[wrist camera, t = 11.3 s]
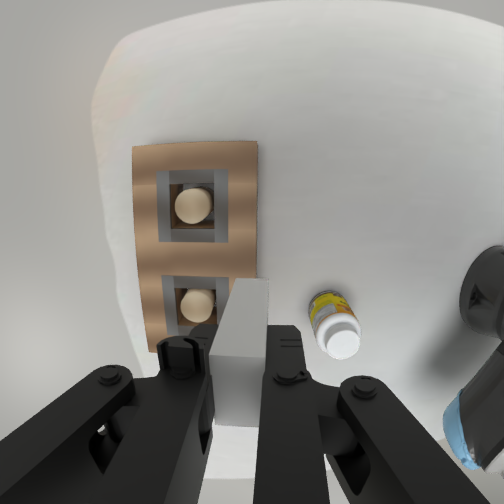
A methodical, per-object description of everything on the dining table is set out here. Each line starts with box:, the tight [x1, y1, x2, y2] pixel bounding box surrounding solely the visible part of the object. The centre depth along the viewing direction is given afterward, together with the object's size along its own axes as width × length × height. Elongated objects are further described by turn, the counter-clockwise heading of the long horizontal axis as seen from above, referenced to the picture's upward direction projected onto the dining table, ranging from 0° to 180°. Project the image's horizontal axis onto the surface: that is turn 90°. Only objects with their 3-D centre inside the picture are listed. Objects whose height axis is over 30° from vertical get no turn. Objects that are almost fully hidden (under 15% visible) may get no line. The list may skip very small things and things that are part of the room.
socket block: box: [132, 141, 258, 353], centre depth 37 cm, size 26×14×6 cm, turn 0°
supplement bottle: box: [309, 291, 361, 360], centre depth 37 cm, size 6×6×10 cm
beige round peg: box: [175, 186, 214, 224], centre depth 36 cm, size 4×4×6 cm
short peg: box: [181, 289, 216, 322], centre depth 39 cm, size 4×4×6 cm
